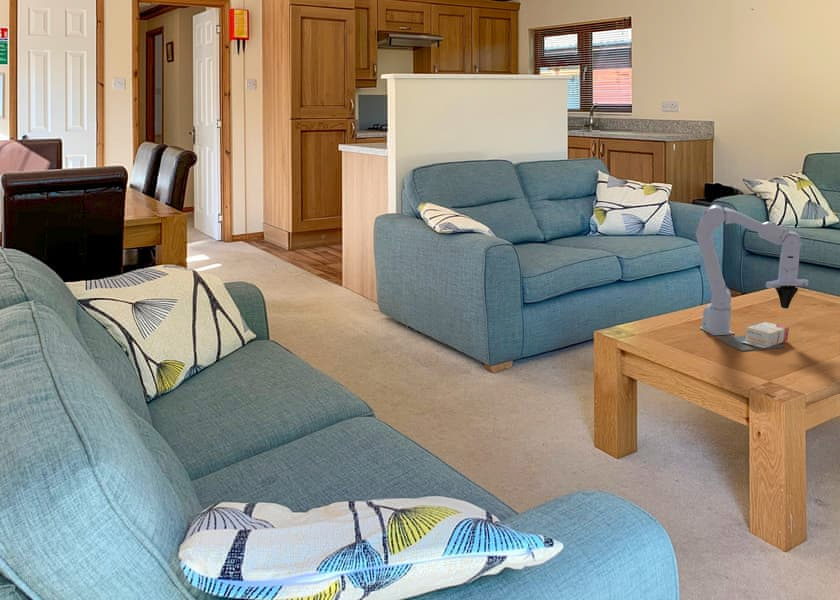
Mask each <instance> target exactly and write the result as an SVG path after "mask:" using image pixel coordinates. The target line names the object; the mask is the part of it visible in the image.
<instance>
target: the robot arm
mask: <svg viewBox="0 0 840 600" xmlns="http://www.w3.org/2000/svg"><path fill="white" fill-rule="evenodd" d="M724 222H725V223H724ZM722 224H725V225H730V224H736V225H739V226H741V227H745V228H747V229H750V230H752V231H755V232H757V233H758V236H759V238H761V239H764V240H766V241H767V242H771V243H772V244H774V245H777V246H779V245H781V253H780V255H779V264H778V266H779V267H778V276H777V279H775V280H771V281H770V280H769V281H766V282H765V288H766V289H774V288H775V290H776V293H777V295H778V297H779V298H778V299H779V302H780V307H781V308H782V309H789V307H790V304H791V303H792V300H793V298H794V296H795V295H796V293H797V292H798V291H799V288H798V287H809V279H806V278H798V273H799V265H800V252H801V249H800V248H801V247H802V245H803V242H802V238H801V235H800V234H799V233H798V232H796V231H795V230H791V229H790V228H785V227H783V226H780V225H778V224H777V222H776V221H774V220H773V221H772V220H771V222H770V221H766V222H761V221H758V220H757V219H754V218H752V217H751V216H750V217H749V216H748V215H745V214H743V213H741V212H739V211H738V210H734V209H732V208H730V207H726V206H725V207H723V205H720V204H712V205H710V206H708V208H706V209H705V211H704V212H703V214H702V217H701V219H700V222H699V224H698V227H697V229H696V232H695V237H696V239H697V240H696V241H697V243H698V247H699V251H700V254H701V257H702V261H703V264H704V268H705V272H706V275H707V279H708V281H709V287H710V292H711V298H710V303H708V304H707V305H706V306H705V307H704V309H703V311H702V323H701V325H702V326H699V329H701V330H702V331H705V332H707V333H708V334H710V335H712V336H722V335H723V336H724V335H726V336H727V335H734V334H735V331H732V330H730V327H731V318H732V305H731V301H732V298H731V297H732V292H731V290H730V288H728V286H727V285H726V282H725V279H724V277H723V273H722V269H721V266H720V261H719V258H718V256H717V252H716V251H717V250H716V249H715V245H714V241H713V237H712V235H713V234H714V232H715V230H716V229H717V228H720V226H721V225H722ZM735 335H736V334H735Z"/></svg>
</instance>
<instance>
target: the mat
mask: <svg viewBox="0 0 840 600" xmlns="http://www.w3.org/2000/svg"><path fill="white" fill-rule="evenodd" d="M745 337H746V334H745V335H735V336H724V337H723V336H722V337H721V336H720V337H716V340H718V341H720V342H722V343H723V344H726V345H728V346H730V347H732V348H733V349H735V350H738V351H739V352H750V351H751V352H752V351H760V350H761V351H762V350H763V351H765V350H773V349H784V348H785V346H784V345H782V344H781V343H779V344H776V345H773V346H771V347H766V348H760V347H757V346H753V345H750V344H746V343H743V342H741V341H745ZM754 345H755V344H754Z"/></svg>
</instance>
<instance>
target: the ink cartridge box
mask: <svg viewBox="0 0 840 600" xmlns="http://www.w3.org/2000/svg"><path fill="white" fill-rule="evenodd" d="M745 329H746V331H745V335H746V337H745V341H741V342H743V343H746V344H750V345H753V346H757V347H760V348H766V347H771V346H773V345H776V344H782V343H785V342H788V338H789V331H790V327H787V326H783V325H780V324H776V323H771V322H768V321H764V322H761V323H757V324H754V325H750V326H747V327H746V328H745ZM754 344H755V345H754Z"/></svg>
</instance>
